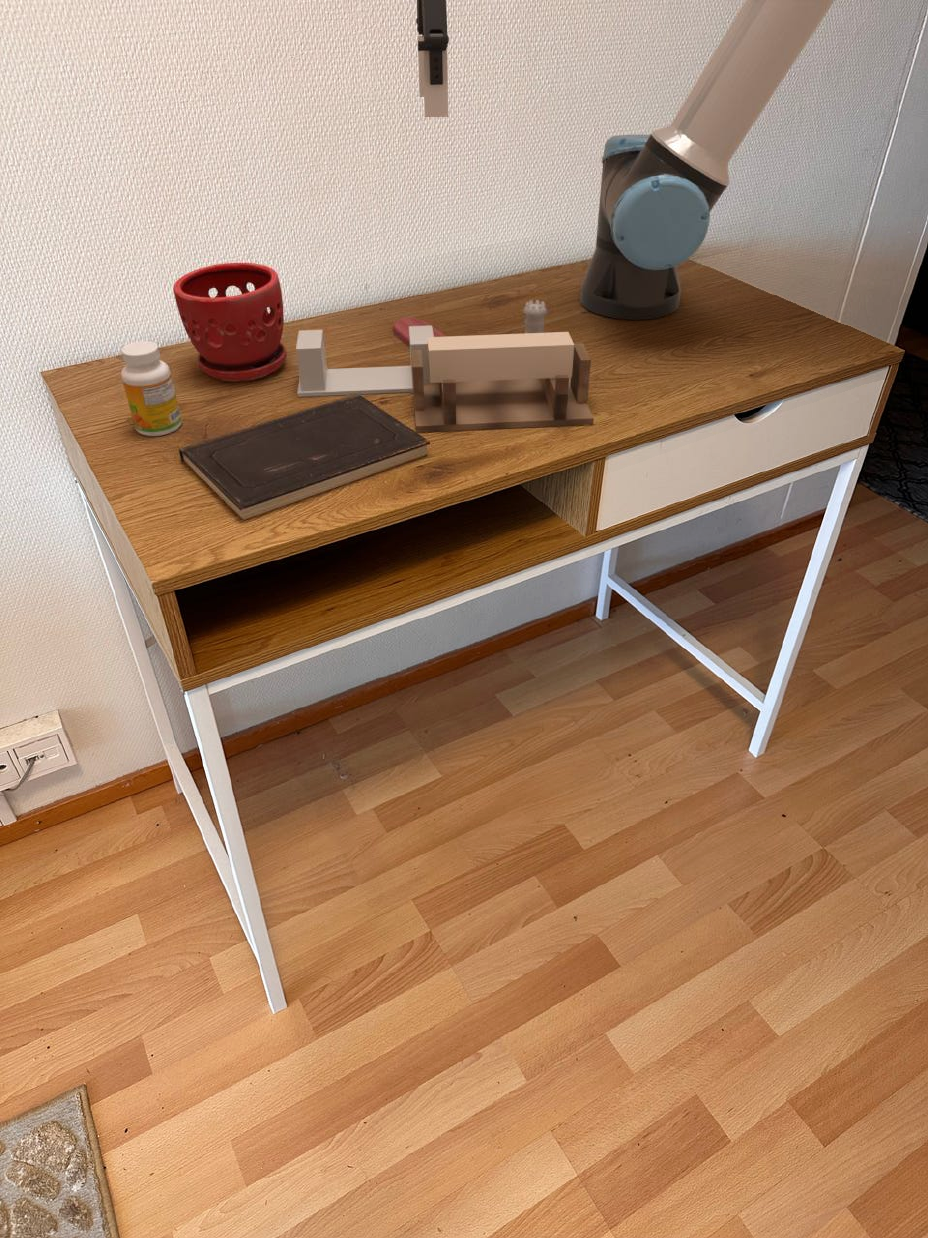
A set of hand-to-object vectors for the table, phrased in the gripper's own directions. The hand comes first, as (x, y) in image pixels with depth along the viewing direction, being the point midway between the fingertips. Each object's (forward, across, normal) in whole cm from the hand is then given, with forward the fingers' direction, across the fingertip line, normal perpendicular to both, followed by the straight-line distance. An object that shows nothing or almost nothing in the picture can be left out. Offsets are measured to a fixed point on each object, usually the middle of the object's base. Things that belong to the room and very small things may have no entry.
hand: (433, 106), depth 108 cm
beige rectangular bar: (+25, +23, +6) cm, 34 cm away
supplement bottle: (+29, +25, -35) cm, 52 cm away
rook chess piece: (+29, +11, +12) cm, 33 cm away
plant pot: (+29, +9, -27) cm, 41 cm away
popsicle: (+29, +3, -2) cm, 30 cm away
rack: (+29, +23, +6) cm, 37 cm away
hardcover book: (+29, +34, -17) cm, 48 cm away
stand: (+29, +15, -10) cm, 34 cm away
